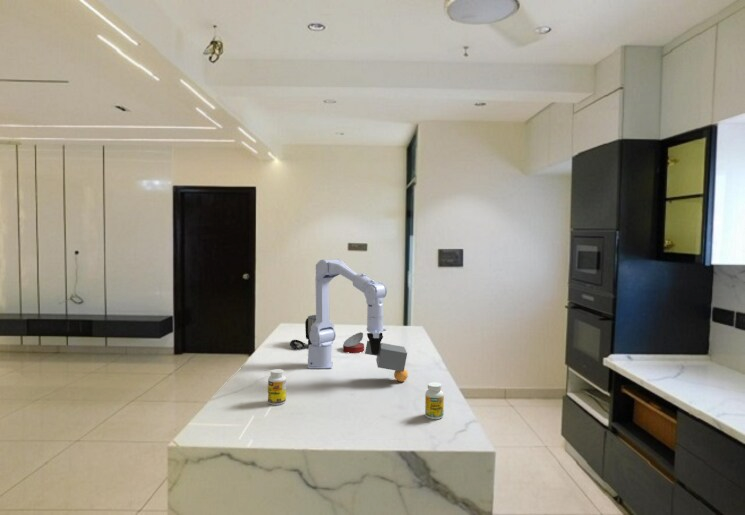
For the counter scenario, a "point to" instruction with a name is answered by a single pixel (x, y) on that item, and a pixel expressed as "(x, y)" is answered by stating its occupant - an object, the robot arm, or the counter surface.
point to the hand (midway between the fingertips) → (374, 353)
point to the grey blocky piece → (389, 356)
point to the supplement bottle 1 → (276, 387)
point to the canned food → (354, 344)
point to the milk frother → (308, 324)
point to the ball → (401, 375)
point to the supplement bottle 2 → (434, 401)
